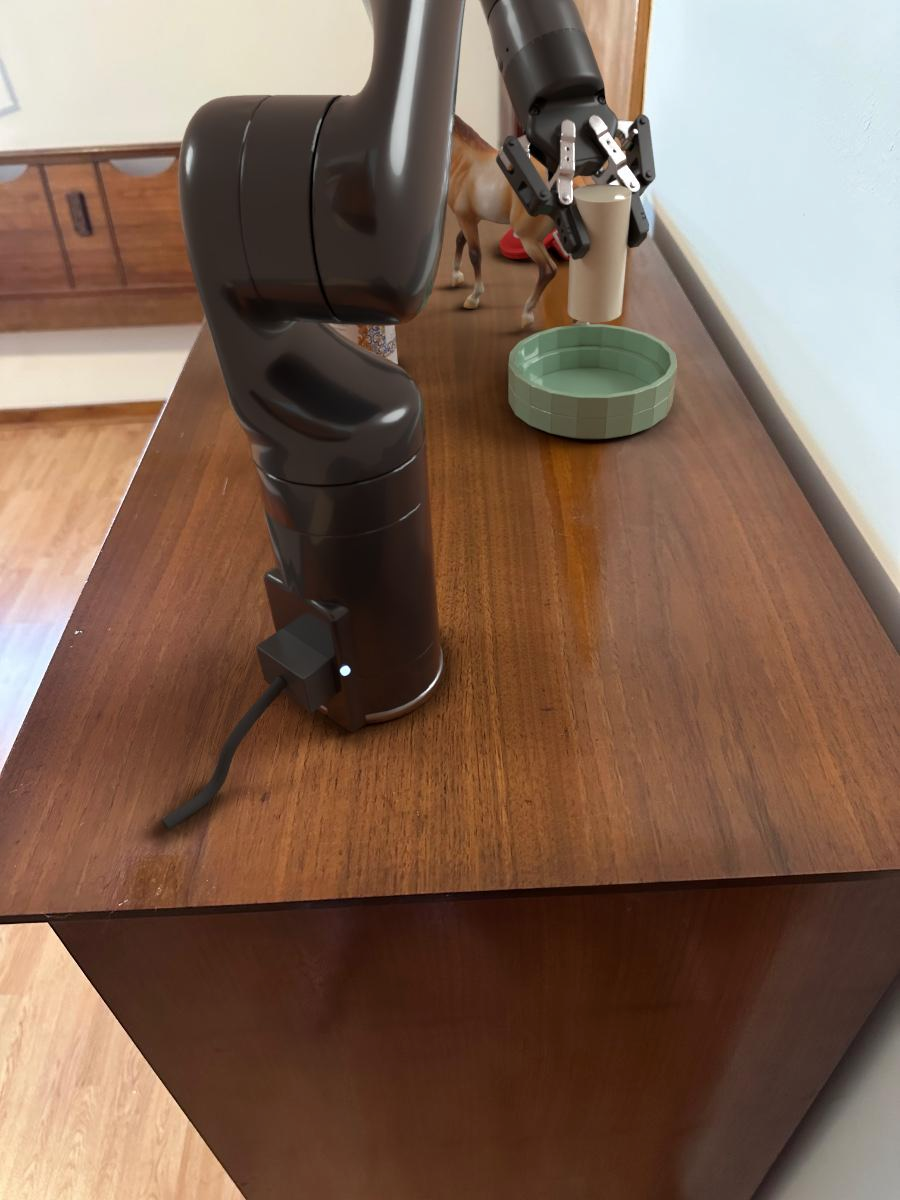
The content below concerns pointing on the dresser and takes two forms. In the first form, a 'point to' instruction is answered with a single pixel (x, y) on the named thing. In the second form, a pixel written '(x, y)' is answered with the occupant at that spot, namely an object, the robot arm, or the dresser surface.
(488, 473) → the dresser surface
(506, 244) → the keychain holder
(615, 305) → the beige cylinder
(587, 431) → the bowl
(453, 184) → the horse figurine
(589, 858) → the dresser surface
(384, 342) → the bath foam
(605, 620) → the dresser surface
